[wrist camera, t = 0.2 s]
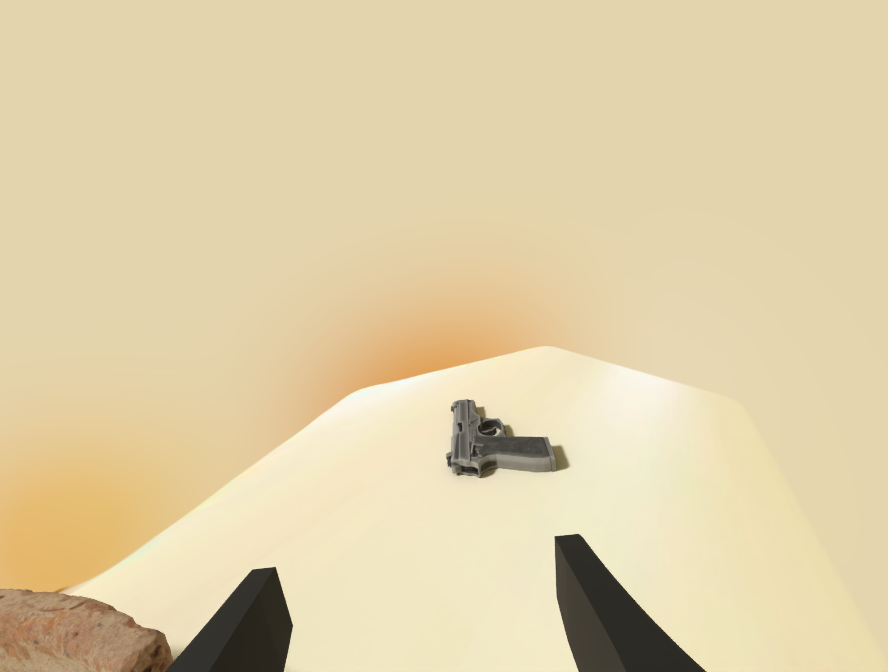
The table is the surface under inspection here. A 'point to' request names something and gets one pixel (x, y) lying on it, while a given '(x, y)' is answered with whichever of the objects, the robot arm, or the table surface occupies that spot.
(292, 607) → the table surface
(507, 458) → the handgun
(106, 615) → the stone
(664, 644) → the robot arm
